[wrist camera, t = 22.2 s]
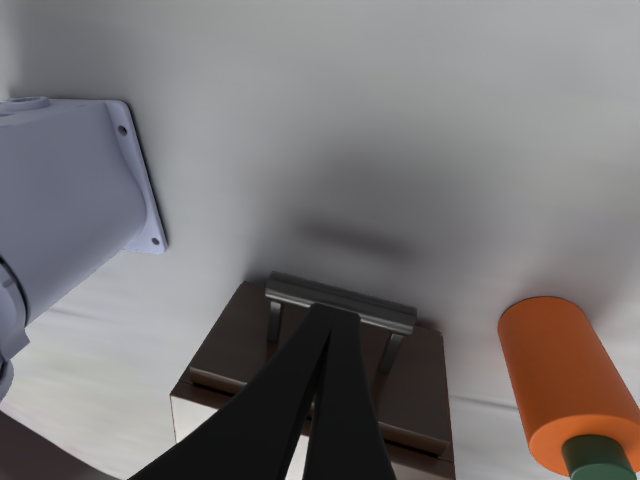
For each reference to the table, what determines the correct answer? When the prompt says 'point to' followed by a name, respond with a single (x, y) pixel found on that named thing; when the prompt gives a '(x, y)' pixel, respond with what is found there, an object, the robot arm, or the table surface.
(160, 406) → the table surface
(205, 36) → the table surface
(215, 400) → the cabinet
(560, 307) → the bottle
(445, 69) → the table surface
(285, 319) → the drawer
